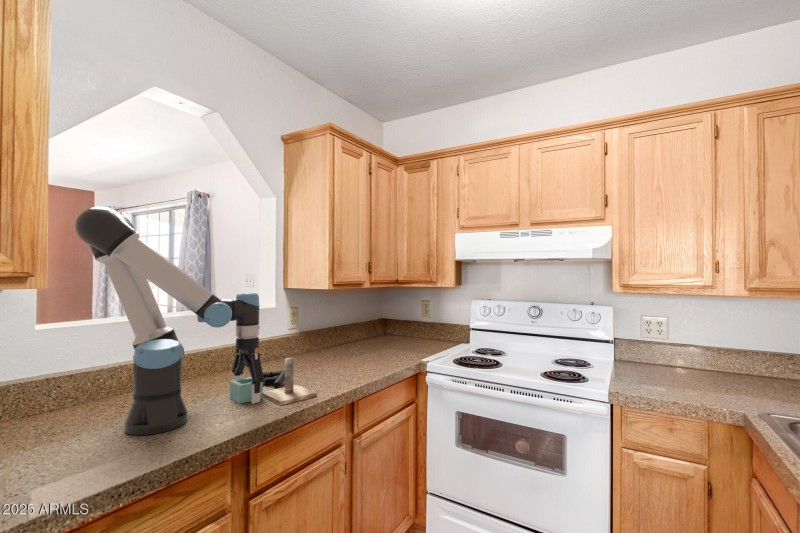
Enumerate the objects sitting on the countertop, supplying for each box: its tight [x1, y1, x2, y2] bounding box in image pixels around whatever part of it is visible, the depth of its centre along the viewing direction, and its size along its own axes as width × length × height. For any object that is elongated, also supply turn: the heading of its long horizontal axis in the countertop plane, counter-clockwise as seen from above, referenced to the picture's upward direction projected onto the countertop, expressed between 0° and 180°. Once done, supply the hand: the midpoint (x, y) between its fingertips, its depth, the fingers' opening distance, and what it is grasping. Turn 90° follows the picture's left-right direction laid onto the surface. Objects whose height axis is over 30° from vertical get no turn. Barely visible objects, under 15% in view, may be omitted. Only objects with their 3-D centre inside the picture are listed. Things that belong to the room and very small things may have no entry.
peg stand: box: [262, 357, 318, 406], centre depth 134 cm, size 14×14×13 cm
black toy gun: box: [262, 369, 285, 389], centre depth 151 cm, size 3×20×16 cm
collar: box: [229, 376, 264, 405], centre depth 131 cm, size 8×8×6 cm
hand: (247, 397), depth 131 cm, fingers open, 13 cm apart
